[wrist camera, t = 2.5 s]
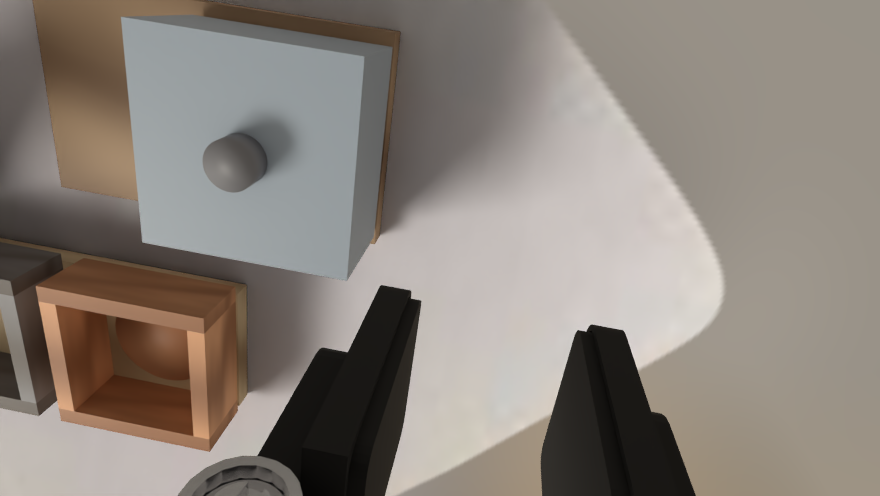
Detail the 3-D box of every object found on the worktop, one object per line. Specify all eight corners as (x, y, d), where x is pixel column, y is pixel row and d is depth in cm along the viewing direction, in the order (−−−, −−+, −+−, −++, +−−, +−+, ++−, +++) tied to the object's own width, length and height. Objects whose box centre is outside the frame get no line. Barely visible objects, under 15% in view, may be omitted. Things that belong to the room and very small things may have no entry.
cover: (192, 14, 21) (99, 17, 17) (392, 47, 21) (355, 59, 16) (201, 205, 25) (125, 253, 20) (373, 236, 24) (339, 293, 20)
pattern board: (48, -25, 23) (24, -27, 22) (400, 31, 22) (394, 32, 21) (77, 180, 27) (58, 188, 26) (379, 235, 26) (373, 245, 25)
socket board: (-68, 218, 29) (-153, 249, 25) (246, 277, 28) (205, 319, 24) (-35, 342, 32) (-106, 385, 28) (247, 399, 31) (211, 452, 27)
